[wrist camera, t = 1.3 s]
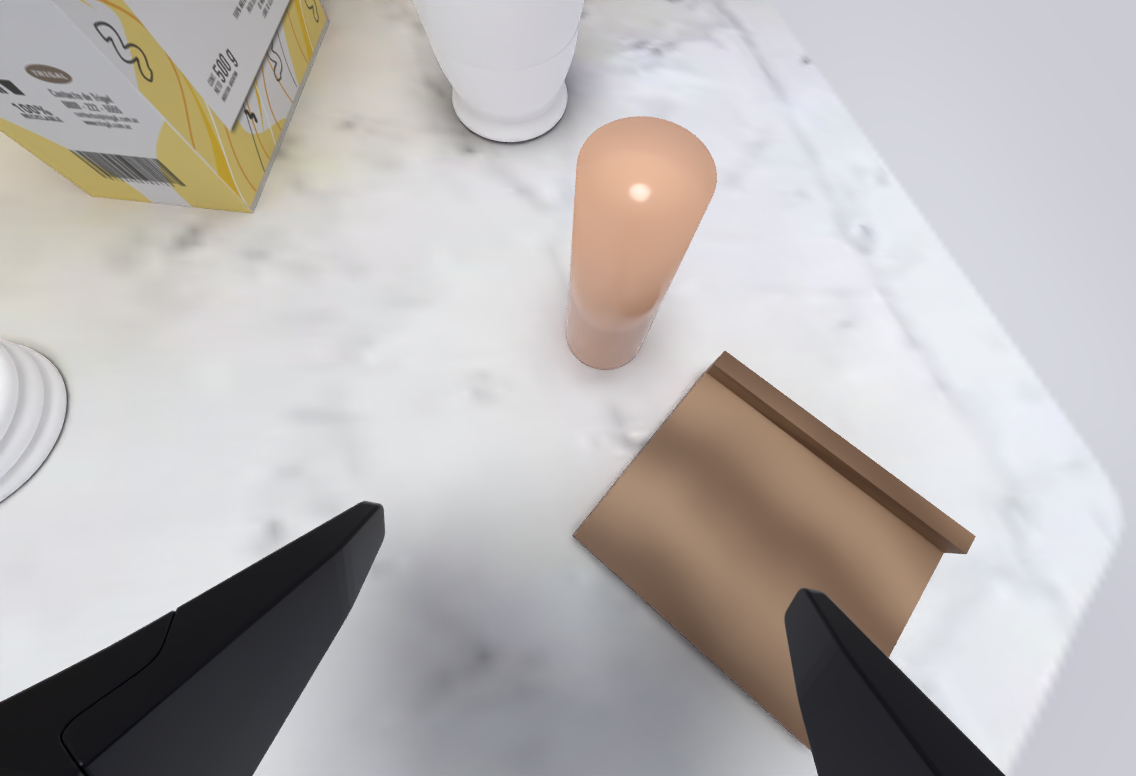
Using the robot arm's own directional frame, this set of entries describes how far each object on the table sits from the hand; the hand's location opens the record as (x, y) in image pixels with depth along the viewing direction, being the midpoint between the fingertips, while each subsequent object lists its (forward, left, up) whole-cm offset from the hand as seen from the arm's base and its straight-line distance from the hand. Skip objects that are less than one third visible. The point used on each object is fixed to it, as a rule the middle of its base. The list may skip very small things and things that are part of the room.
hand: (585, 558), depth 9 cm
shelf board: (+6, -7, -14) cm, 17 cm away
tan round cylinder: (+10, +6, -14) cm, 18 cm away
